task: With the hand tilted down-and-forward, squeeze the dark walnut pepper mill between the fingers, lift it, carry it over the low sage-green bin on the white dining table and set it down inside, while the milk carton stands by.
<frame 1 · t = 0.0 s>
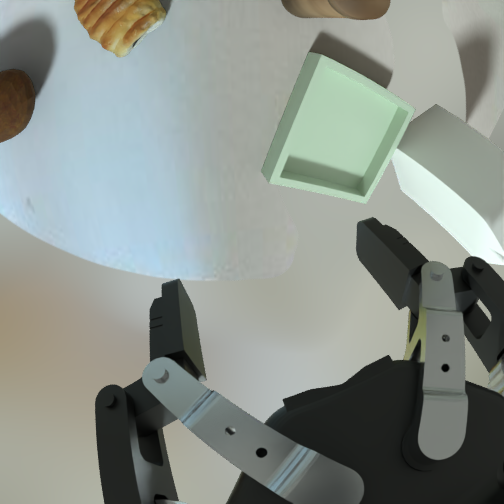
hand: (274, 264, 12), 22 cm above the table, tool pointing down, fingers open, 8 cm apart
pastry: (120, 17, 18), on the table
milk: (418, 147, 38), on the table
bin: (338, 131, 33), on the table
potato: (14, 99, 18), on the table
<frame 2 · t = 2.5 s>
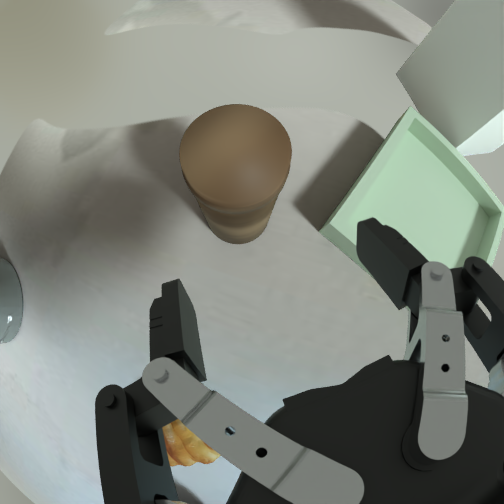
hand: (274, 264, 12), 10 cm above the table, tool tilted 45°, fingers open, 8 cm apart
pastry: (183, 425, 21), on the table
milk: (448, 113, 26), on the table
pepper mill: (237, 213, 23), on the table
bin: (426, 222, 23), on the table
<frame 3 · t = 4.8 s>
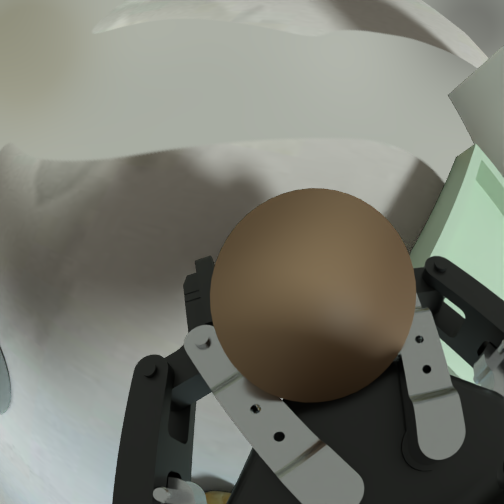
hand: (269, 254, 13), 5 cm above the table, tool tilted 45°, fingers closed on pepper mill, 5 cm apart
milk: (499, 145, 20), on the table
pepper mill: (272, 293, 17), on the table, touching gripper
bin: (482, 286, 18), on the table
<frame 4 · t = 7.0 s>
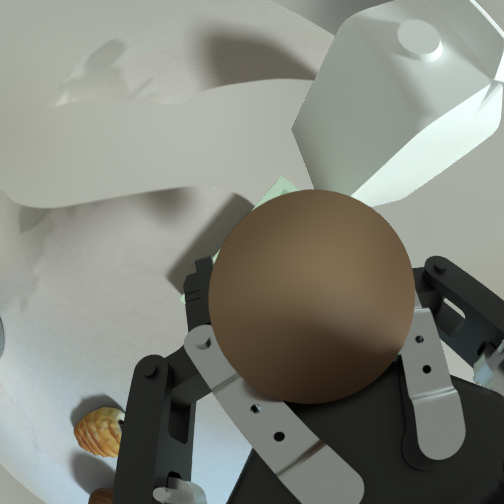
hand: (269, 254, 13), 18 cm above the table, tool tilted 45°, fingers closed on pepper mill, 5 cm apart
pastry: (111, 430, 27), on the table
milk: (349, 163, 33), on the table
pepper mill: (272, 294, 17), point 13 cm above the table, touching gripper
bin: (290, 286, 30), on the table
potato: (122, 497, 25), on the table
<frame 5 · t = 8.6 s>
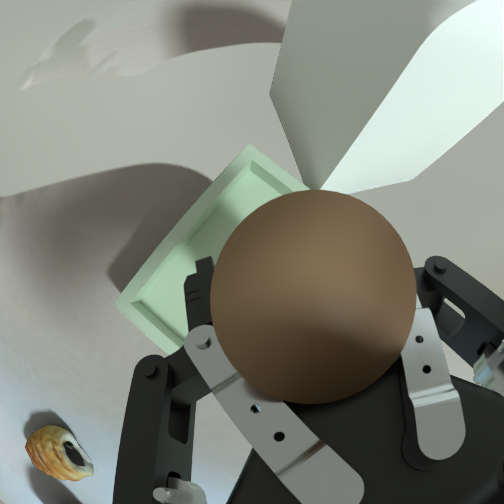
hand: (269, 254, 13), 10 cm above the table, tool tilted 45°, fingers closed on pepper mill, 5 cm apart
pastry: (63, 450, 20), on the table
milk: (343, 134, 25), on the table
pepper mill: (272, 294, 17), point 6 cm above the table, touching gripper
bin: (262, 291, 23), on the table
when the fingers open (8 cm above the table, at t = 9.5 s): pepper mill drops 3 cm, resting on bin.
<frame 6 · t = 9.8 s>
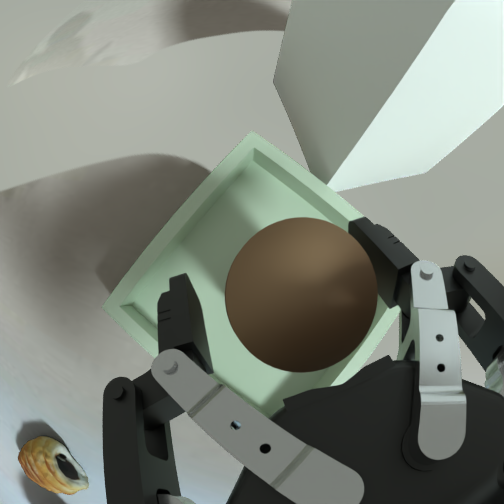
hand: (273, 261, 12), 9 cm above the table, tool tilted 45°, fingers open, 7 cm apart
pastry: (57, 461, 18), on the table
milk: (352, 124, 23), on the table
pepper mill: (271, 294, 20), point 1 cm above the table, touching bin
bin: (267, 293, 20), on the table
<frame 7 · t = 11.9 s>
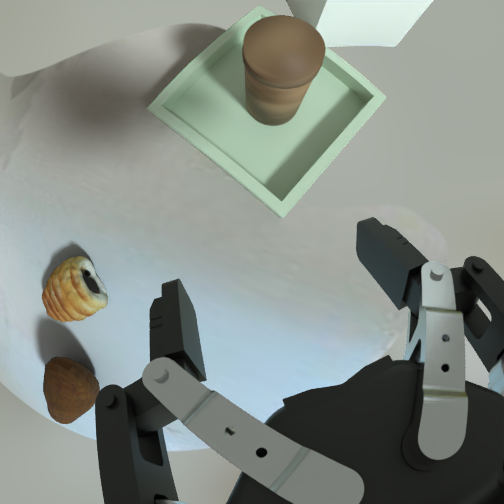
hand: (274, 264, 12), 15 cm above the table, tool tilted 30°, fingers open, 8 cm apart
pastry: (80, 289, 28), on the table
milk: (336, 10, 23), on the table
pepper mill: (272, 102, 24), point 1 cm above the table, touching bin
bin: (269, 104, 25), on the table
potato: (84, 374, 30), on the table
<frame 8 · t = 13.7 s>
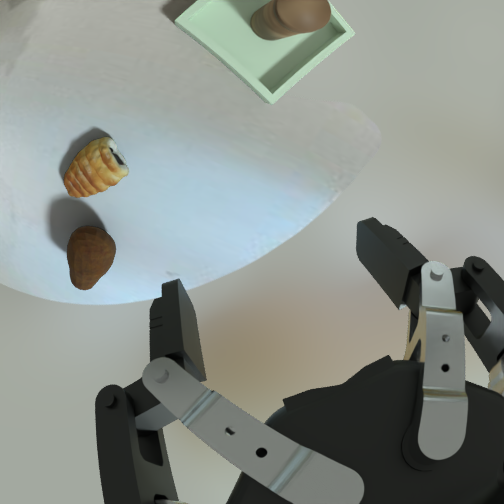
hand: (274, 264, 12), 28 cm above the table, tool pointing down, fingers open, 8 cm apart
pastry: (99, 166, 33), on the table
pepper mill: (270, 23, 26), point 1 cm above the table, touching bin
bin: (266, 23, 27), on the table
potato: (95, 240, 39), on the table
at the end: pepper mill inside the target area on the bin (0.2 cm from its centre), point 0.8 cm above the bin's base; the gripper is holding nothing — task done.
